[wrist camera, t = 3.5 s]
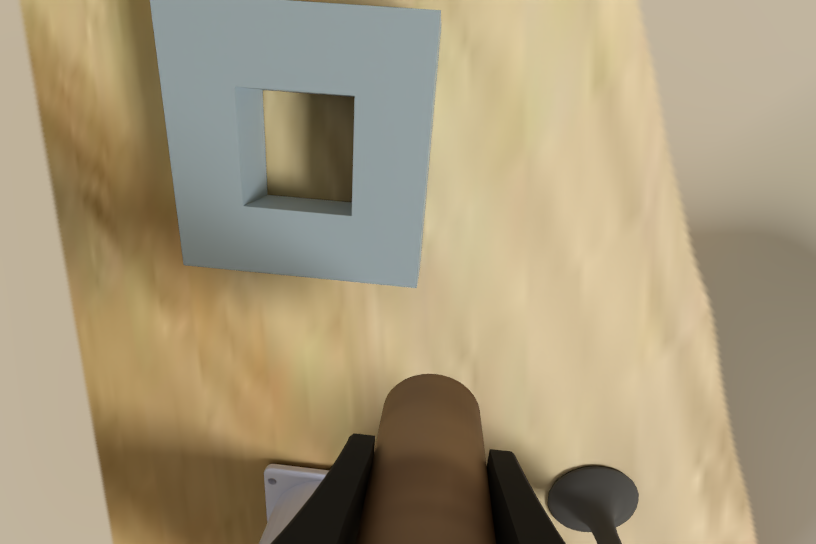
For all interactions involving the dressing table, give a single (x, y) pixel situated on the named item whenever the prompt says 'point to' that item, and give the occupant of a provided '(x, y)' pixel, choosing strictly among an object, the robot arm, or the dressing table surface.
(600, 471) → the sundae
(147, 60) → the dressing table surface
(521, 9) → the dressing table surface
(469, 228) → the dressing table surface
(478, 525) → the peg
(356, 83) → the socket block
